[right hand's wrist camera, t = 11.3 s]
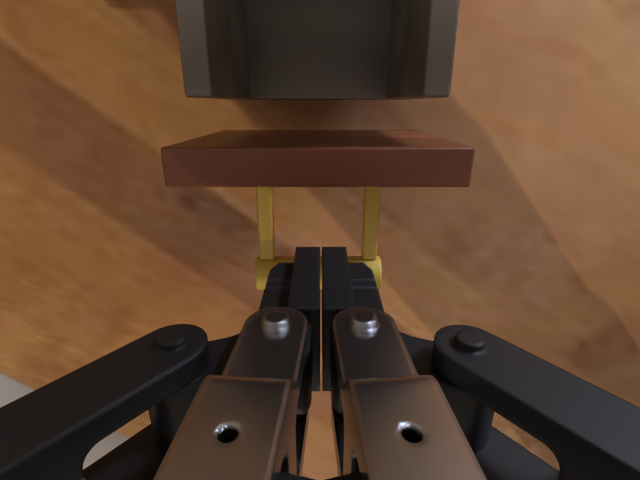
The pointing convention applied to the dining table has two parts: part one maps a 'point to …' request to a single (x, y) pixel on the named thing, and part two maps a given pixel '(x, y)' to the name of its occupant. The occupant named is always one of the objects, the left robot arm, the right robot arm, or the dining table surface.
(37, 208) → the dining table surface
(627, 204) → the dining table surface
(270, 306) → the right robot arm
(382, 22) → the drawer
